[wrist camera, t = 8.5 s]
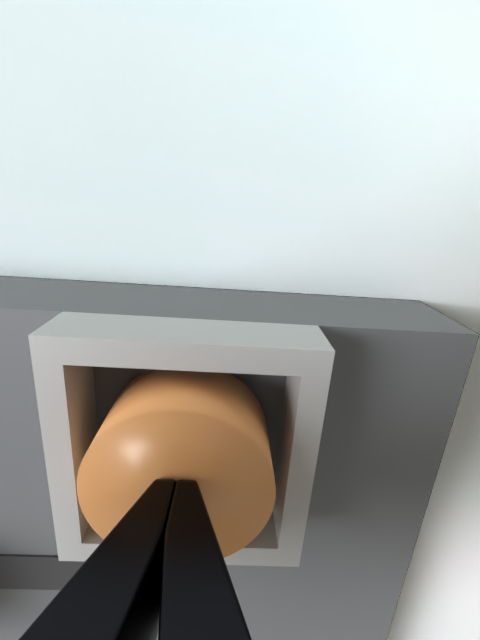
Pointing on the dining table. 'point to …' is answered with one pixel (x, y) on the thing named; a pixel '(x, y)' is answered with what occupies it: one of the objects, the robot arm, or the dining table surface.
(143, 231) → the dining table surface
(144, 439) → the copper button
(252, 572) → the control panel
